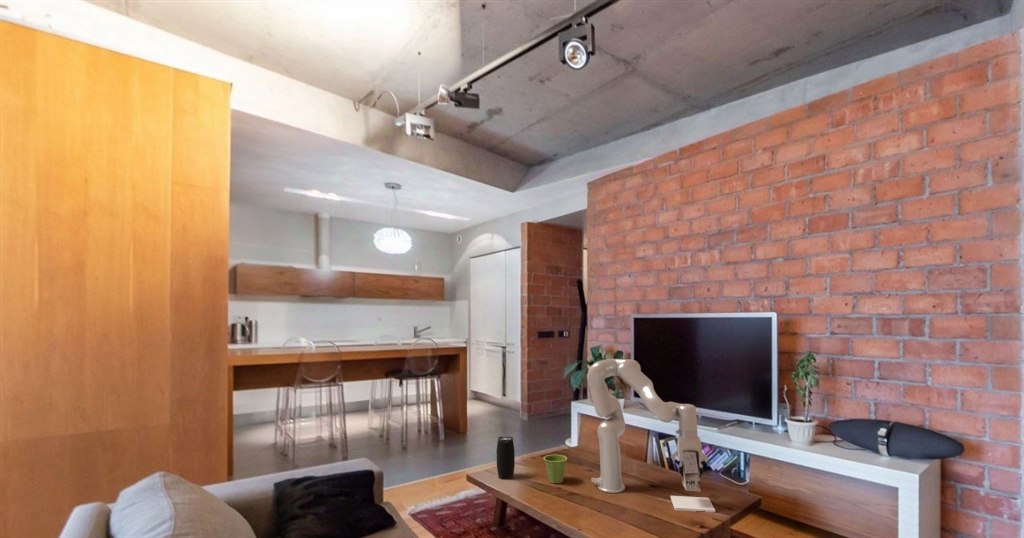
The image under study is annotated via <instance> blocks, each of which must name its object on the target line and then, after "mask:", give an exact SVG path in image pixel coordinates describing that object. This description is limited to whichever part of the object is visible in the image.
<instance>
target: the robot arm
mask: <svg viewBox="0 0 1024 538" xmlns="http://www.w3.org/2000/svg"><path fill="white" fill-rule="evenodd" d="M641 370H642V369H641V365H640V363H639V362H638V361H637V360H634V359H627V358H625V359H624V358H623V359H622V358H606V359H602V360H598V361H596V362H594V363H593V364H592V365H590V367H589V368H588V370H587V382H588V383H587V384H588V386H589V390H590V393H591V394H590V395H591V399H592V403H593V407H594V408H593V409H594V410H595V414H596V415H597V416H598V417H600V418H605V420H603V421H601V422H600V423H599V425H598V426H597V437H598V443H599V458H600V460H599V461H600V475H599V477H591V482H592V483H593V484H595V485H596V484H597V488H598V490H599V491H602V492H605V493H610V494H618V493H622V492H624V491H625V489H626V487H625V484H624V483H622V465H621V447H620V443H619V437H620V436H622V435H623V434H624V433H625V430H626V422H625V418H624V414H623V410H622V406H621V403H620V400H619V399H618V398H617V397H616V396H615V395H613V394H610V393H609V392H610V391H609V388H608V384H607V383H606V381H605V379H606V378H610V377H620V378H621V379H623V380H624V382H625V383H626V384H627V385H629V386H630V387H631V389H633V390H634V391H635V392H636V393H637V394H638V395H639V398H640V399H641V401H642V402H643V404H644V405H645V407H646V409H648V410H649V411H650V412H651V413H652V414H653V415H654V416H655V418H657V419H658V420H659V421H661V422H663V423H672V421H674V420H676V419H677V420H678V430H677V429H676V430H675V434H676V435H677V438H676V439H677V440H676V441H677V442H676V451H674V453H673V454H671V455H670V458H671V459H672V461H673V462H674V463H675V464H676V465H677V466H678V473H679V474H680V477H681V478H682V477H683V476H684V474H683V466H682V464H683V451H698V452H699V467H700V479H701V478H702V476H703V467H704V466H705V465H706V464H707V463H708V462H709V461H710V457H708V456H707V454H705V452H703V447H702V441H701V438H700V437H699V435H698V422H697V421H698V420H697V419H698V418H697V408H696V406H695V405H693V404H690V403H680V402H679V403H678V402H674V401H668V402H665V401H663V400H662V399H661V397H659V396H658V395H657V393H656V390H655V389H654V384H653V381H652V380H651V379H650V378H648V376H647V375H645V374H644V373H643V372H642V371H641ZM676 457H677V458H676Z"/></svg>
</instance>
